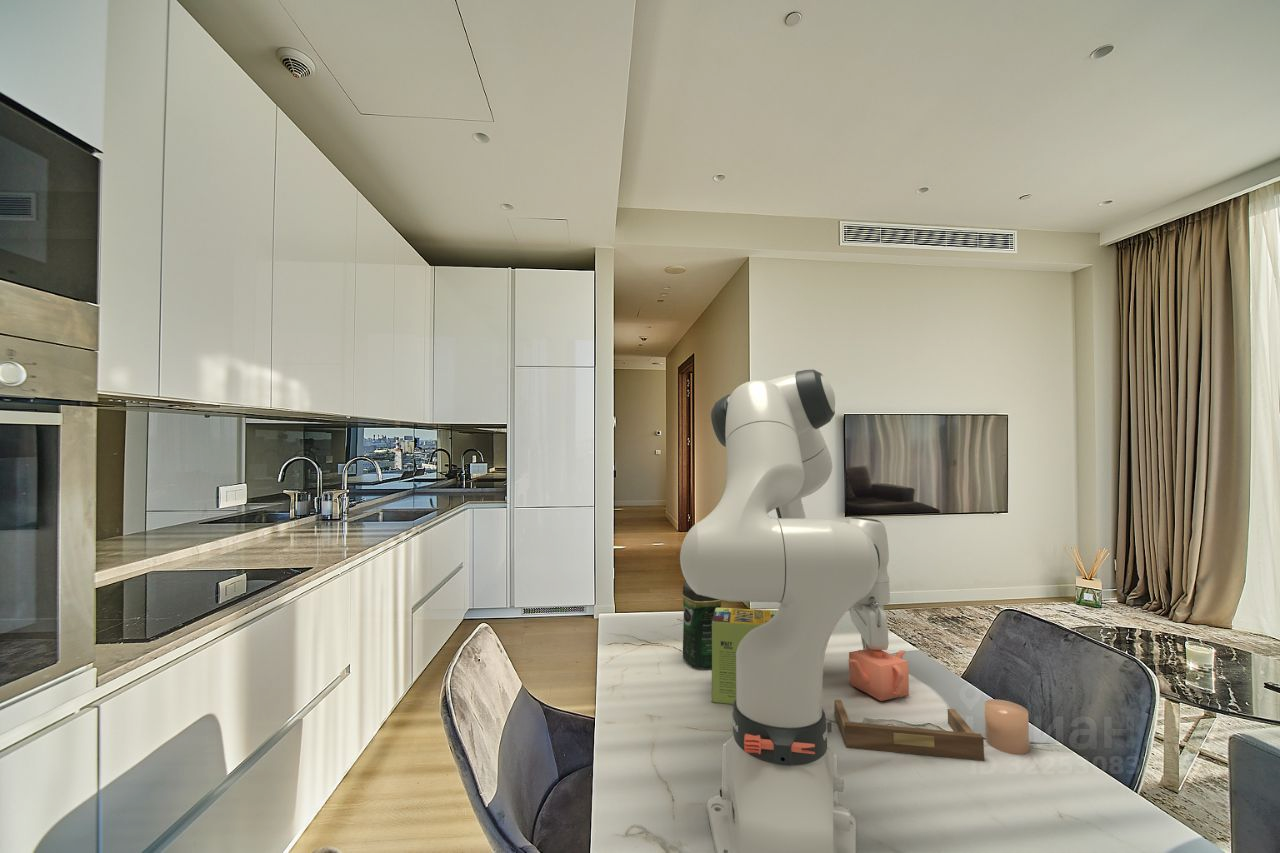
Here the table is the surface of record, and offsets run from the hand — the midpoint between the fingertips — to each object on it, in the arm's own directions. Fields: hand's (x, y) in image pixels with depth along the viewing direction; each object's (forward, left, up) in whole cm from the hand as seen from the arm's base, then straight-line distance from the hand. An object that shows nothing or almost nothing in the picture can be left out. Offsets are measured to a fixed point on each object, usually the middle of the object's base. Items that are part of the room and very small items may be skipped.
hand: (868, 657), depth 118 cm
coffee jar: (+1, +36, -4) cm, 36 cm away
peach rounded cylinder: (-25, -16, -4) cm, 30 cm away
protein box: (-14, +25, -4) cm, 29 cm away
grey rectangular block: (-27, +16, -4) cm, 32 cm away
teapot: (-8, 0, -4) cm, 9 cm away
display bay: (-25, 0, -4) cm, 26 cm away
